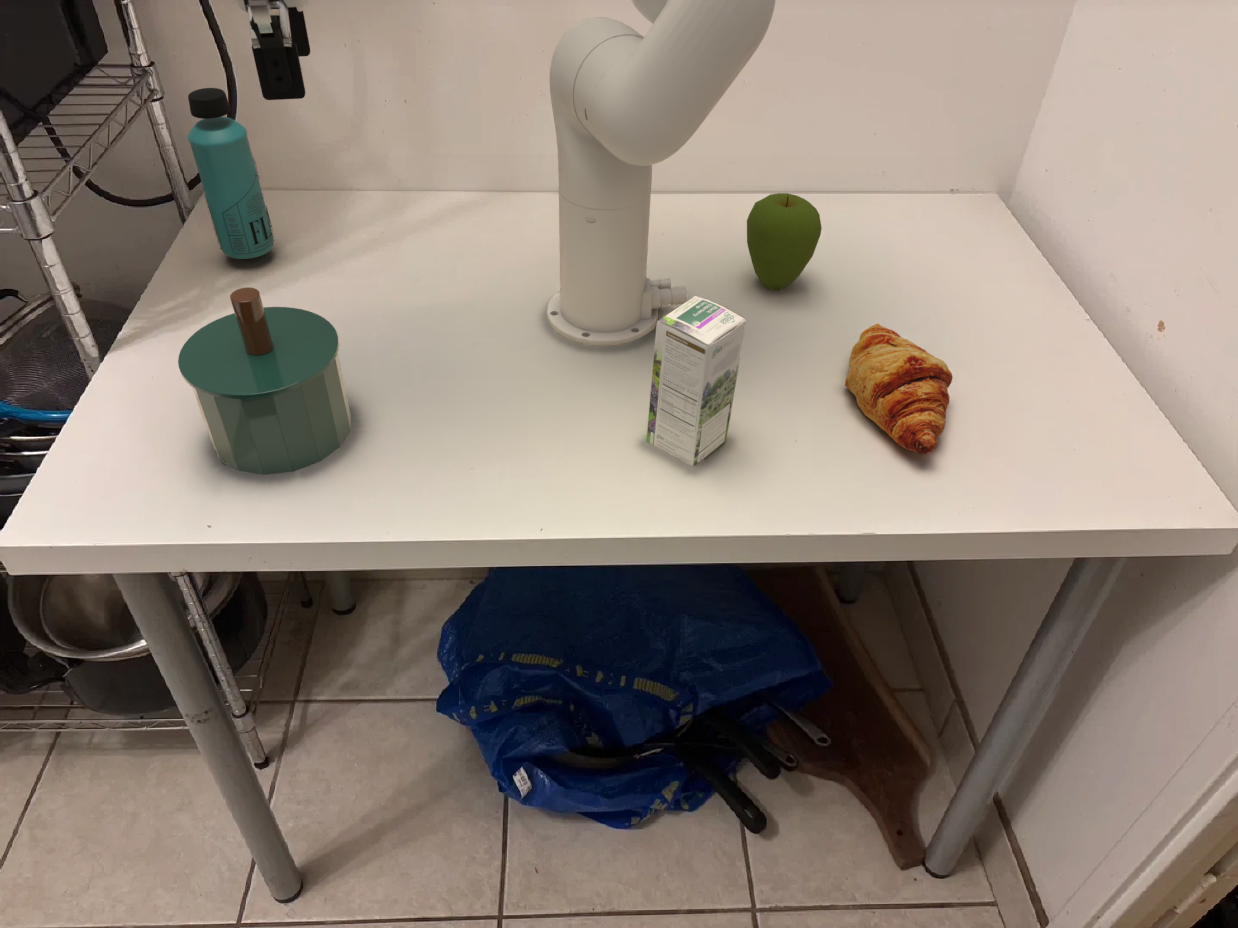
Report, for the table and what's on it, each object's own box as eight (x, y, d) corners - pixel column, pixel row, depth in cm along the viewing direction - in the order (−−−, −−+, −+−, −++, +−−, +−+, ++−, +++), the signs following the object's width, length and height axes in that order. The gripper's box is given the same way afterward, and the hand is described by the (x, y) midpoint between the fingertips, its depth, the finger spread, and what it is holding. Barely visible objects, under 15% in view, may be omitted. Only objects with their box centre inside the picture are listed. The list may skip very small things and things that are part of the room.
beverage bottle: (263, 274, 111) (219, 106, 97) (211, 267, 112) (161, 99, 98) (288, 247, 116) (250, 84, 102) (238, 241, 116) (194, 78, 103)
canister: (352, 387, 95) (335, 308, 89) (351, 469, 86) (332, 387, 79) (222, 400, 93) (196, 319, 86) (207, 485, 84) (176, 402, 77)
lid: (341, 310, 89) (329, 249, 85) (339, 396, 79) (324, 331, 75) (192, 323, 87) (171, 260, 83) (170, 412, 77) (145, 347, 73)
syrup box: (680, 417, 93) (692, 291, 83) (729, 442, 90) (747, 315, 80) (645, 445, 90) (653, 317, 80) (694, 472, 87) (709, 343, 77)
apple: (823, 294, 111) (842, 205, 103) (763, 309, 108) (778, 218, 100) (784, 260, 117) (798, 173, 109) (726, 273, 114) (736, 185, 106)
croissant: (837, 367, 106) (815, 314, 101) (924, 331, 103) (905, 275, 98) (889, 493, 90) (865, 436, 85) (992, 454, 87) (974, 394, 82)
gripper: (285, -152, 59) (333, 114, 71) (298, -192, 72) (337, 39, 83) (161, -152, 58) (230, 119, 70) (196, -192, 71) (250, 43, 82)
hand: (288, 75), depth 77 cm, fingers open, 9 cm apart
